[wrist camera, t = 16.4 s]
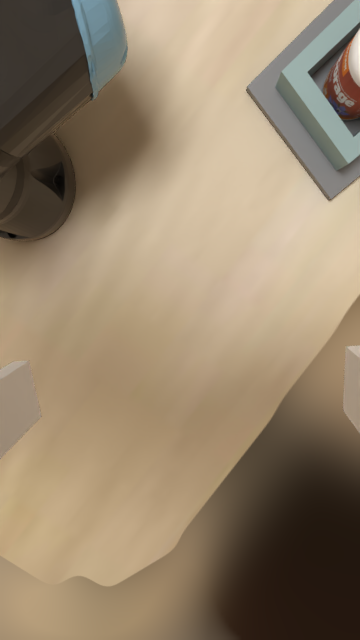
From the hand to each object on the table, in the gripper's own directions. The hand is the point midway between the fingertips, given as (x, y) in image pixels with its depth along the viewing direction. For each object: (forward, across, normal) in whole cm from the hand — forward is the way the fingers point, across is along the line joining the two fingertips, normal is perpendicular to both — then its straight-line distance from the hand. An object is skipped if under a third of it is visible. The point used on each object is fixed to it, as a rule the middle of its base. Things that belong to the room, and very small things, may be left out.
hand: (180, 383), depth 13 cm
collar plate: (+31, +18, +20) cm, 41 cm away
